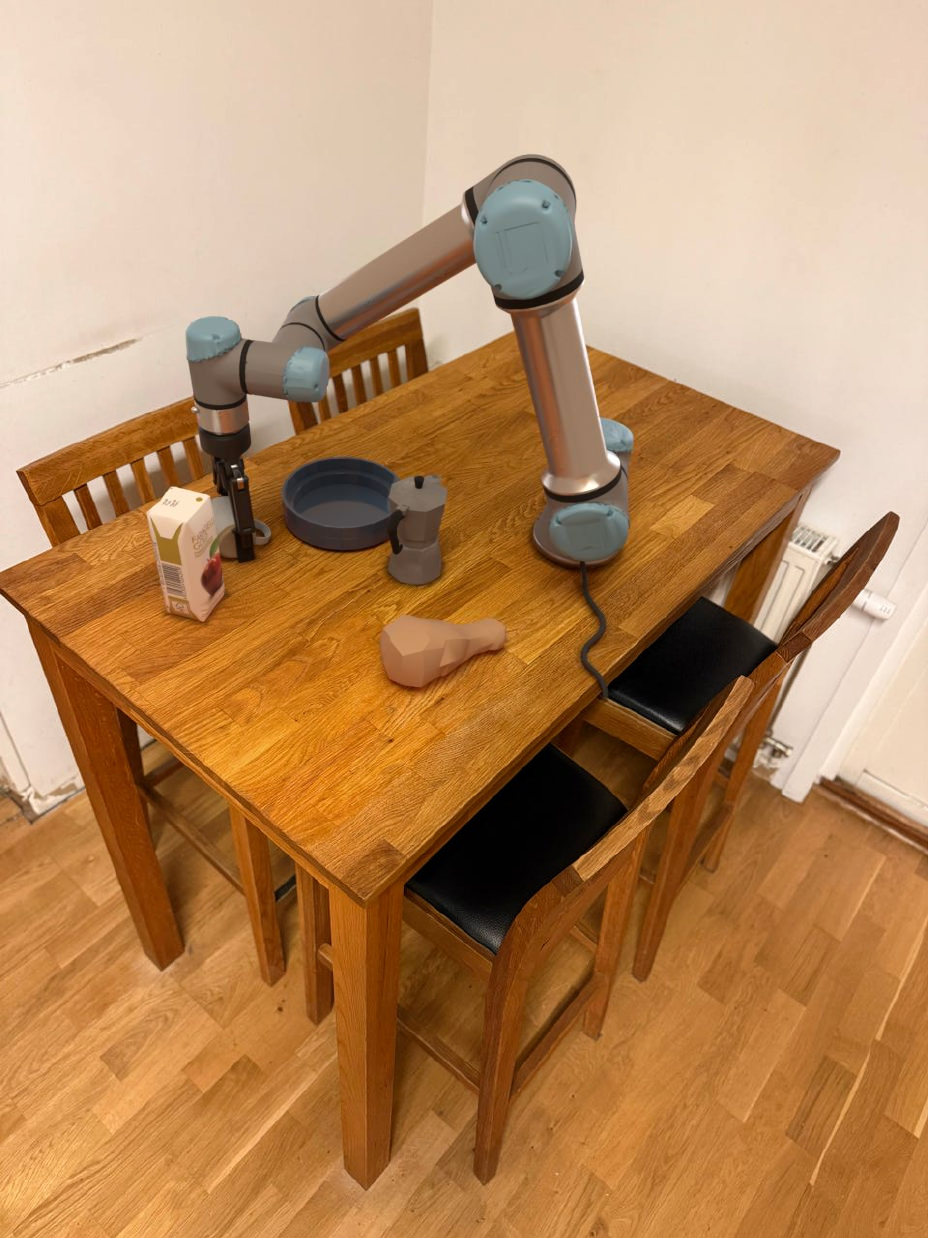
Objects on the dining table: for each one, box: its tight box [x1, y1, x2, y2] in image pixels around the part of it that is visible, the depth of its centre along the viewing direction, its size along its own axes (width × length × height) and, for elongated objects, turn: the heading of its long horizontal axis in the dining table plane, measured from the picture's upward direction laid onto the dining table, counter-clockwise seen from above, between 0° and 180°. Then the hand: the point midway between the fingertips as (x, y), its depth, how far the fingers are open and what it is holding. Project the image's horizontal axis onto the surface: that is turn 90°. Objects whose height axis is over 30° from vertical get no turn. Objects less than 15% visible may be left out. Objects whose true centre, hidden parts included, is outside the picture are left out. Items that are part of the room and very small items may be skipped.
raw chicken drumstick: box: [378, 613, 507, 688], centre depth 129 cm, size 11×20×9 cm, turn 121°
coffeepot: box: [387, 473, 448, 586], centre depth 140 cm, size 15×9×18 cm, turn 153°
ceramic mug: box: [211, 495, 272, 559], centre depth 145 cm, size 11×8×8 cm
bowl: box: [281, 456, 401, 551], centre depth 153 cm, size 21×21×6 cm
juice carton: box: [146, 486, 225, 623], centre depth 130 cm, size 8×9×19 cm
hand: (238, 542), depth 147 cm, fingers closed on ceramic mug, 8 cm apart
